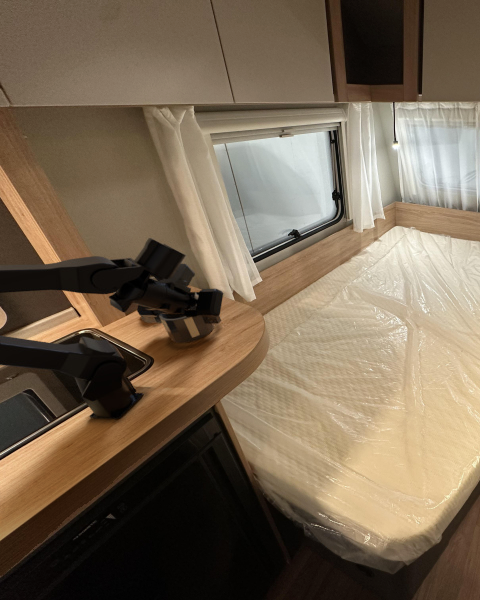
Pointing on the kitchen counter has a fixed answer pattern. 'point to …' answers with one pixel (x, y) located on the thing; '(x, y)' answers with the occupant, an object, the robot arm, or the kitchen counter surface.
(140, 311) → the robot arm
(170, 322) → the pot
